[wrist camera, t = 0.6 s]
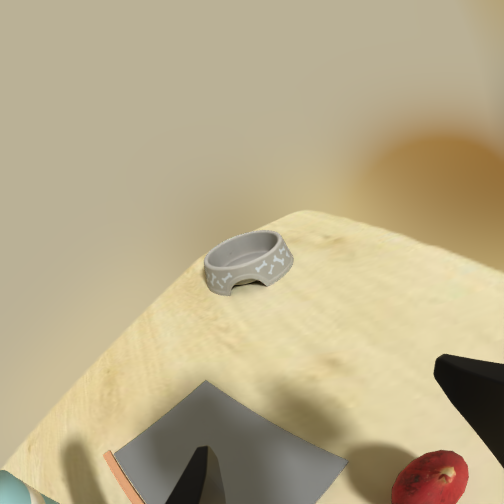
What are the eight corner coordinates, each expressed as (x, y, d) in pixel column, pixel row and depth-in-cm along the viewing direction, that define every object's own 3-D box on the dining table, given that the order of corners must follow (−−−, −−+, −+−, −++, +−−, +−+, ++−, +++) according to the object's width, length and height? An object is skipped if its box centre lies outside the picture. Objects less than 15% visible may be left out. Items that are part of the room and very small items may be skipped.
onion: (373, 518, 11) (385, 508, 8) (401, 462, 15) (419, 427, 11) (436, 525, 7) (473, 514, 4) (458, 467, 11) (495, 432, 8)
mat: (225, 579, 8) (223, 580, 7) (115, 455, 22) (113, 454, 22) (348, 461, 17) (348, 460, 17) (207, 381, 31) (205, 379, 31)
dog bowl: (213, 262, 65) (205, 242, 62) (288, 241, 62) (282, 220, 60) (201, 304, 49) (190, 280, 47) (299, 280, 47) (292, 253, 45)
